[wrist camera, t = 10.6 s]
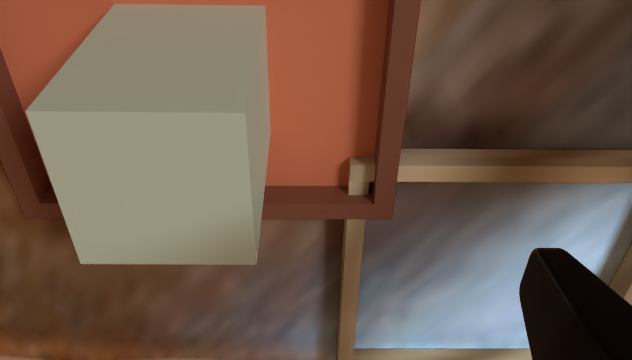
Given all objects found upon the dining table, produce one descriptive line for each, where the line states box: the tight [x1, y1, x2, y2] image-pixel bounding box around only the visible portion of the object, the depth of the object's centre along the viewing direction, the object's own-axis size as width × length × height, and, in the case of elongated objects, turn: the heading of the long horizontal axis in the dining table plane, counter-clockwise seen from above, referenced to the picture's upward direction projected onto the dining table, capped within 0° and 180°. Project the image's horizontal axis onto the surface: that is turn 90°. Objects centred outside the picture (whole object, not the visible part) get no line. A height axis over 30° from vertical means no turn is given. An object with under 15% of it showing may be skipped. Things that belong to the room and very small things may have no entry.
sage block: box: [26, 4, 271, 265], centre depth 17 cm, size 5×5×7 cm
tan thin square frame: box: [336, 149, 632, 360], centre depth 26 cm, size 15×15×1 cm
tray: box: [0, 0, 421, 219], centre depth 19 cm, size 15×12×2 cm
